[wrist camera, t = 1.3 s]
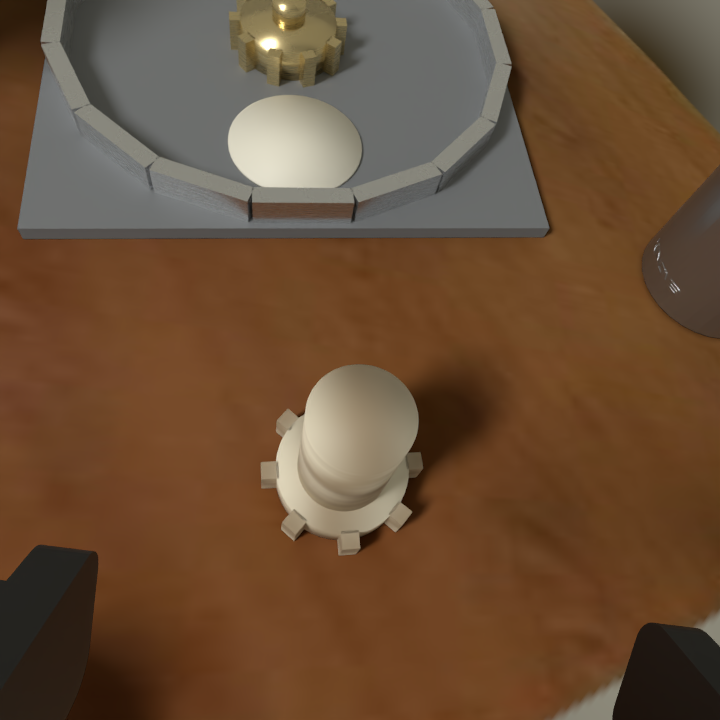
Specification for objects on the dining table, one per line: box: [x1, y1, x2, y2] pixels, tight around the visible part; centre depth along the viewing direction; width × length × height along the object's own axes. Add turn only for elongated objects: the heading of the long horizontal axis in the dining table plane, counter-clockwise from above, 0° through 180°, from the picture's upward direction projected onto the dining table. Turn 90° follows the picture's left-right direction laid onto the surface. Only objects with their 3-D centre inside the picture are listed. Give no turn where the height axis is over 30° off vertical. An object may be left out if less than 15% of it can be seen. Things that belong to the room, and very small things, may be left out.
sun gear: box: [229, 0, 347, 88], centre depth 45 cm, size 8×8×4 cm
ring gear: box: [40, 0, 512, 223], centre depth 46 cm, size 33×33×2 cm
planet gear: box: [261, 364, 423, 556], centre depth 30 cm, size 8×8×9 cm
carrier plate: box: [17, 0, 549, 239], centre depth 47 cm, size 34×34×1 cm
